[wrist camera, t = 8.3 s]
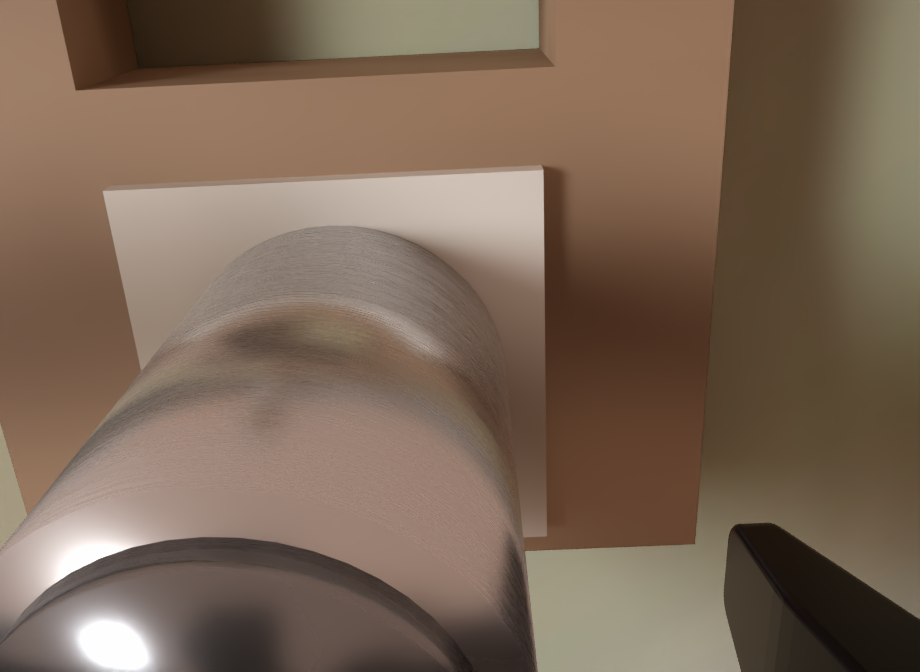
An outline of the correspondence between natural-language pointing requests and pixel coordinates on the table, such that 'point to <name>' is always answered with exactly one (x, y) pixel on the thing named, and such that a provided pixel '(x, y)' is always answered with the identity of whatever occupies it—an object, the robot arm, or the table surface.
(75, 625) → the plug
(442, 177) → the block
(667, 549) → the table surface
